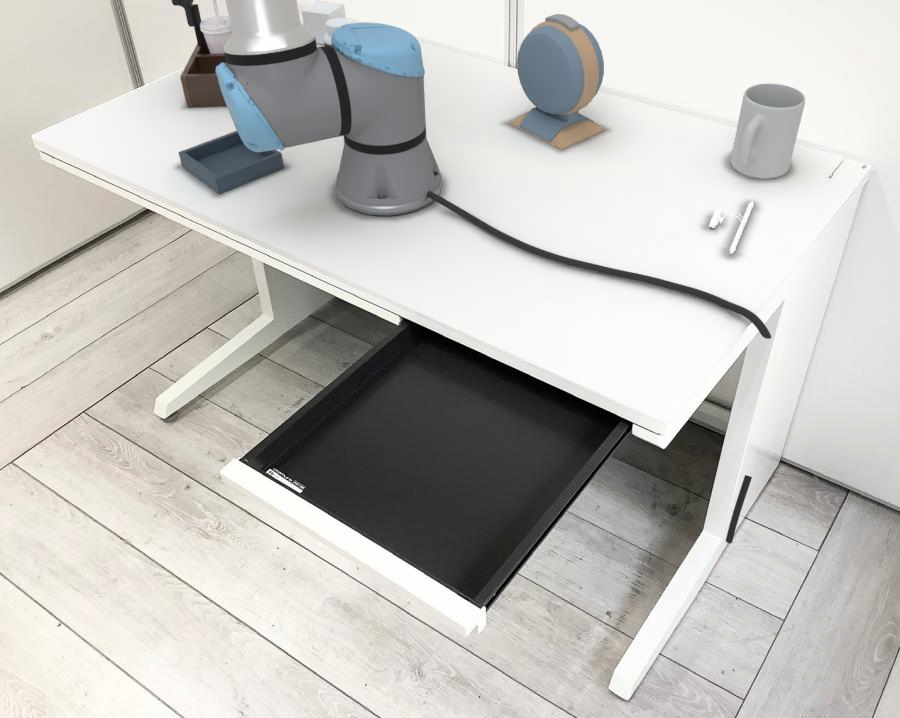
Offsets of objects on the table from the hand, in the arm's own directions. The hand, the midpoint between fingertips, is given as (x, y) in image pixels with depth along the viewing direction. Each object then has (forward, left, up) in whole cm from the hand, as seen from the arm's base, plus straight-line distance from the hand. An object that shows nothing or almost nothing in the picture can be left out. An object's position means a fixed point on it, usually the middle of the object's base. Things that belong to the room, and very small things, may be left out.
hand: (221, 42), depth 160 cm
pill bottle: (-13, -16, -6) cm, 22 cm away
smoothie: (0, 0, -6) cm, 6 cm away
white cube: (+2, -23, -6) cm, 24 cm away
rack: (-3, +3, -6) cm, 7 cm away
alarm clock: (-56, -28, -6) cm, 63 cm away
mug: (-86, -39, -6) cm, 95 cm away
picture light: (-93, -24, -6) cm, 96 cm away
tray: (-31, +17, -6) cm, 36 cm away
